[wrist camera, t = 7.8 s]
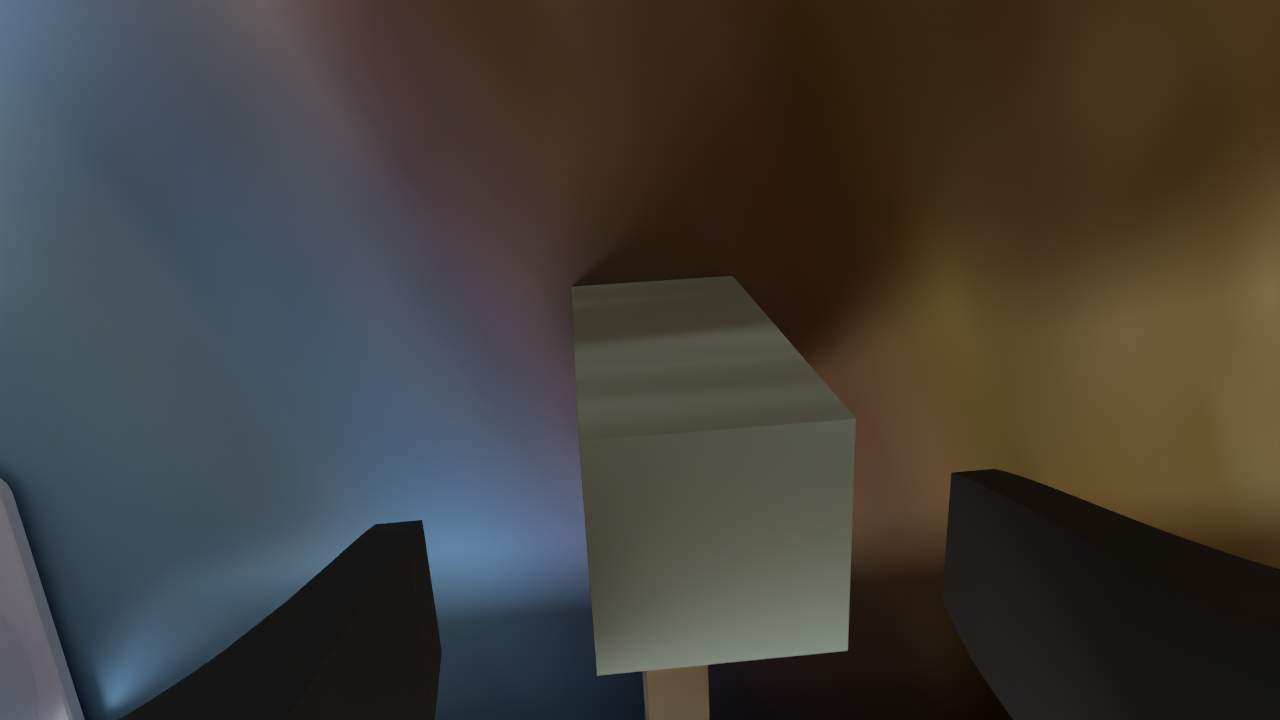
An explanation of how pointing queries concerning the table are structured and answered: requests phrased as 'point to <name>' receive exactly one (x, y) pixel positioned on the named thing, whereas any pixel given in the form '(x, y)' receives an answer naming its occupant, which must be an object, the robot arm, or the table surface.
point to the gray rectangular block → (706, 487)
